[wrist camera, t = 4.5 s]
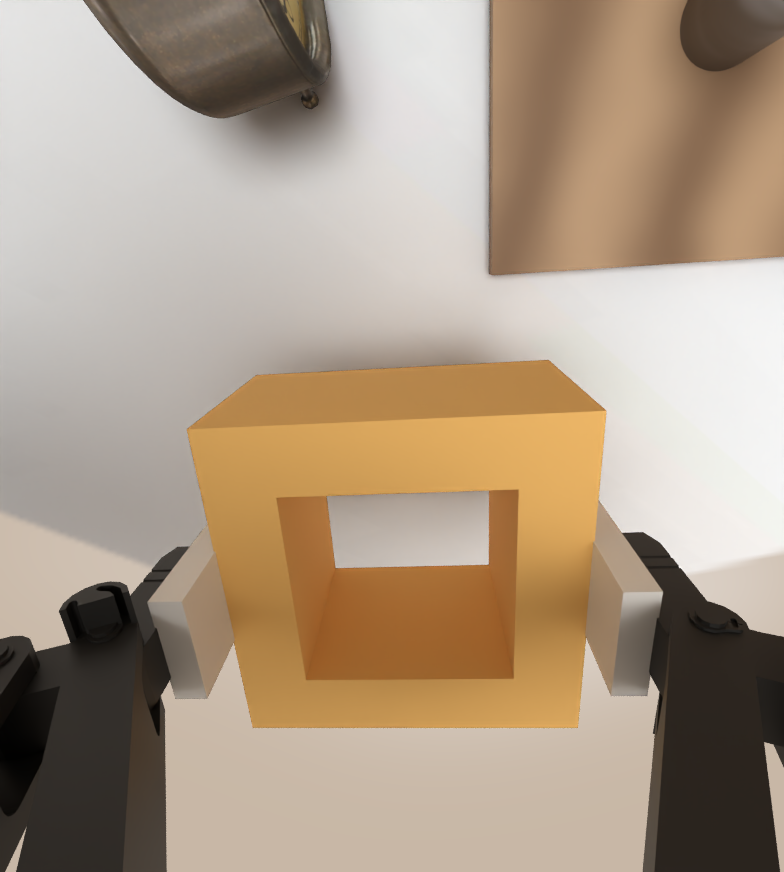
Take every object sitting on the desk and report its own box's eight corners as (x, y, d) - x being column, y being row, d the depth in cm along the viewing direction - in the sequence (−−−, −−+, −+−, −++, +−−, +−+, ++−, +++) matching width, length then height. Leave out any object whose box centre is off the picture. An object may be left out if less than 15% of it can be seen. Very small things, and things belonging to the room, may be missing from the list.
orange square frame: (294, 608, 19) (252, 727, 14) (256, 375, 16) (186, 429, 11) (537, 604, 18) (577, 727, 13) (548, 360, 15) (606, 410, 10)
